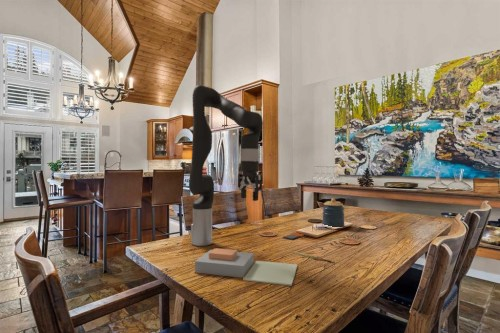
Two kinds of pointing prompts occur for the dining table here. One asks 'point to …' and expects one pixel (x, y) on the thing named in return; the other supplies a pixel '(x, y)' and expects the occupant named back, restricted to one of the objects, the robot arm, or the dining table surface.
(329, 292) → the dining table surface
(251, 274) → the mat
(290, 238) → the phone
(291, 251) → the sword
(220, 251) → the block
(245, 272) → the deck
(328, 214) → the lidded jar
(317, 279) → the dining table surface
